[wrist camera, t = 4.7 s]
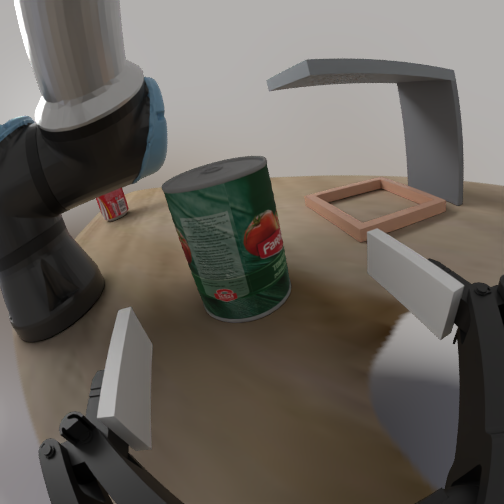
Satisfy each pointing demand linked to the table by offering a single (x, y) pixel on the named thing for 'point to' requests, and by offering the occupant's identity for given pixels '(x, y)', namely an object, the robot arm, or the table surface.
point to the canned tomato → (231, 237)
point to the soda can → (113, 205)
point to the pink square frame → (387, 223)
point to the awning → (404, 114)
